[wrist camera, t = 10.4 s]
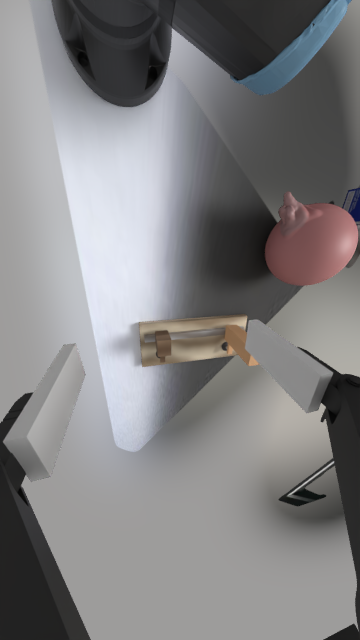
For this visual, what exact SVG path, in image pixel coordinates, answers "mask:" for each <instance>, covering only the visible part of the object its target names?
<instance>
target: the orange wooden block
mask: <svg viewBox="0 0 360 640" xmlns="http://www.w3.org/2000/svg"><path fill="white" fill-rule="evenodd" d="M246 338H247V333H246V332H245V331H244V330H243V329H242V328H240V327H239V326H238V325H226V330H225V338H224V339H225V341H226V342H227V343H228V346H226V349H227V354H232V351H233V349H234V351H235V352H236V353H237V354H238V355H239V356H240V357H241V358H242V359H243V361H244V362H245V363H246V364H247V365H248V366H253V365H260V364H259V363H258V362H257V361H256V360H255V359H254V358H253V357H252V356H251V355H250V354H249V353H248V351H247V350H246V349H245V345H246Z"/></svg>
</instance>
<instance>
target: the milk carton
mask: <svg viewBox="0 0 360 640" xmlns="http://www.w3.org/2000/svg"><path fill="white" fill-rule="evenodd" d="M342 209H344V210H346V211H347V212H348V213H349V214H350V215H351V216H352V218H353V219H354V221H355V223H356V225H360V188H357V189H352V190H349V191H348V193H347V196H346V199H345V202H344V204H343V207H342Z"/></svg>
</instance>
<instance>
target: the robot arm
mask: <svg viewBox="0 0 360 640" xmlns="http://www.w3.org/2000/svg"><path fill="white" fill-rule="evenodd" d="M350 2H351V0H52V5H53V10H54V15H55V19H56V22H57V26H58V29H59V32H60V34H61V37H62V40H63V43H64V46H65V48H66V51H67V53H68V55H69V57H70V59H71V61H72V63H73V65H74V67H75V68H76V70H77V72H78V73H79V75H80V76H81V77H82V79H83V80H84V81H85V82H86V84H87V85H88V86H89V87H90V88H91V89H92V90H93V91H94V92H95V93H97V94H98V95H99V96H100V97H102V98H103V99H105V100H107V101H108V102H110V103H113V104H115V105H119V106H124V107H133V106H138V105H141V104H143V103H145V102H147V101H148V100H149V99H150V98H152V97H153V96H154V95H155V93H156V92H157V91H158V89H159V88H160V86H161V84H162V82H163V79H164V77H165V74H166V70H167V66H168V61H169V55H170V50H171V37H172V34H171V33H172V28H173V29H174V30H175V31H177V32H178V33H179V34H180V35H182V36H183V37H184V38H185V39H187V40H188V41H189V42H190V43H192V44H193V45H194V46H195V47H196V48H198V49H199V50H200V51H201V52H203V53H204V54H205V55H206V56H208V57H209V58H210V59H211V60H212V61H214V62H215V63H216V64H217V65H219V66H220V67H221V68H222V69H224V70H225V71H226V72H227V73H229V74H230V77H231V79H232V80H233V81H234V82H236V83H239V84H243V85H245V86H246V87H247V88H248V89H250V90H251V91H253V92H254V93H256V94H259V95H264V94H270V93H273V92H275V91H277V90H278V89H280V88H281V87H283V86H284V85H285V84H287V83H288V82H289V81H290V80H291V79H292V78H294V76H296V75H297V73H299V72H300V71H301V70H302V68H303V67H304V66H305V65H306V64H307V63H308V62H309V61H310V60H311V58H312V57H313V56H314V55H315V54H316V53H317V52H318V50H319V49H320V48H321V47H322V45H323V44H324V43H325V42H326V40H327V39H328V38H329V36H330V35H331V34H332V32H333V31H334V30H335V28H336V27H337V26H338V24H339V23H340V21H341V20H342V18H343V17H344V15H345V14H346V12H347V6H348V4H349V3H350ZM245 349H246V350H247V351H248V353H249V354H250V355H251V356H252V357H253V358H254V359H255V360H256V361H257V362H258V363H259V364H260V365H261V366H262V367H263V368H264V369H265V370H266V371H267V372H268V373H269V374H270V375H271V377H272V378H273V379H274V380H275V381H276V382H277V383H278V384H279V385H280V386H281V387H282V388H283V389H284V390H285V391H286V392H287V393H288V394H289V395H290V396H291V397H292V399H293V400H294V401H295V402H296V403H297V404H298V405H299V406H300V407H301V408H302V409H303V410H304V411H305V412H306V413H309V412H313V411H317V410H318V409H319V406H320V404H321V403H322V404H323V405H325V406H326V409H325V411H324V413H323V415H322V418H321V422H323V421H324V419H326V421H327V426H328V432H329V437H330V442H331V447H332V452H333V458H334V463H335V468H336V473H337V478H338V483H339V488H340V493H341V499H342V504H343V509H344V514H345V520H346V525H347V530H348V535H349V540H350V545H351V550H352V556H353V561H354V566H355V571H356V577H357V591H356V598H355V606H356V617H357V623H358V629H359V631H358V629H357V628H356V626H355V624H352V625H350V626H349V627H347V628H345V629H343V630H341V631H339V632H337V633H335V634H334V635H331V636H329V637H328V638H326V639H324V640H360V377H357V376H354V375H350V374H340V373H339V372H337V371H336V370H334V369H333V368H332V367H330V366H329V365H327V364H326V363H324V362H323V361H321V360H319V359H318V358H317V357H315V356H314V355H313V354H311V353H309V352H308V351H307V350H304V349H302V348H300V347H296V346H294V345H293V344H291V343H290V342H289V341H287V340H286V339H285V338H283V337H282V336H280V335H279V334H277V333H276V332H275V331H273V330H272V329H270V328H269V327H267V326H266V325H265V324H263V323H262V322H260V321H259V320H258V319H257V320H249V324H248V331H247V338H246V345H245ZM84 378H85V371H84V368H83V365H82V362H81V358H80V355H79V352H78V349H77V346H76V344H75V343H74V344H67V345H63V347H62V348H61V350H60V351H59V353H58V355H57V356H56V358H55V359H54V361H53V363H52V364H51V366H50V367H49V369H48V370H47V372H46V374H45V375H44V377H43V378H42V380H41V382H40V383H39V385H38V386H37V388H36V390H35V391H34V392H33V393H27V394H24V395H23V396H22V397H21V398H20V399H18V400H17V401H16V402H15V403H14V405H13V406H12V407H11V409H10V410H9V413H8V414H7V415H6V416H5V418H4V419H3V422H1V423H0V640H91V639H90V637H89V635H88V633H87V631H86V628H85V626H84V624H83V621H82V619H81V617H80V615H79V612H78V610H77V608H76V606H75V604H74V601H73V599H72V597H71V595H70V592H69V590H68V588H67V586H66V583H65V581H64V579H63V577H62V574H61V572H60V570H59V568H58V566H57V563H56V561H55V559H54V556H53V554H52V552H51V550H50V548H49V545H48V543H47V541H46V539H45V536H44V534H43V532H42V530H41V527H40V525H39V523H38V521H37V518H36V516H35V514H34V512H33V509H32V507H31V505H30V503H29V501H28V498H27V496H26V494H25V492H24V489H23V488H22V487H21V484H22V482H23V480H24V477H25V475H27V477H28V478H29V480H30V481H31V482H32V481H36V480H39V479H44V478H48V477H51V474H52V471H53V469H54V466H55V463H56V460H57V457H58V454H59V451H60V448H61V445H62V442H63V439H64V436H65V433H66V430H67V427H68V425H69V422H70V419H71V415H72V413H73V410H74V407H75V404H76V401H77V398H78V395H79V392H80V389H81V386H82V383H83V380H84Z"/></svg>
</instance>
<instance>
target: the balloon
mask: <svg viewBox="0 0 360 640" xmlns="http://www.w3.org/2000/svg"><path fill="white" fill-rule="evenodd" d="M279 216H280V218H281V220H280V221H279V222H278V223H277V224H276V226H275V227H274V228H273V230H272V231H271V233H270V235H269V237H268V240H267V243H266V247H265V259H266V263H267V265H268V268H269V269H270V271H271V272H272V273H273V275H274V276H276V277H277V278H278V279H280V280H281V281H283V282H285V283H288V284H292V285H300V286H304V285H312V284H316V283H319V282H322V281H324V280H327V279H329V278H331V277H332V276H334V275H335V274H337V273H338V272H339V271H341V270H342V269H343V268H344V267H345V266H346V264H347V263H348V262H349V261H350V259H351V258H352V256H353V254H354V252H355V249H356V246H357V242H358V229H357V226H356V223H355V221H354V219H353V218H352V216H351V215H350V214H349V213H348V212H347V211H346V210H344V209H342V208H340V207H338V206H336V205H333V204H327V203H315V204H310V205H303V204H301V203H300V202H297V201H296V200H295V198H294V197H293V196H292V195H291V192H286V193H285V194H284V205H283V206H282V207H280V209H279Z"/></svg>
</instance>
